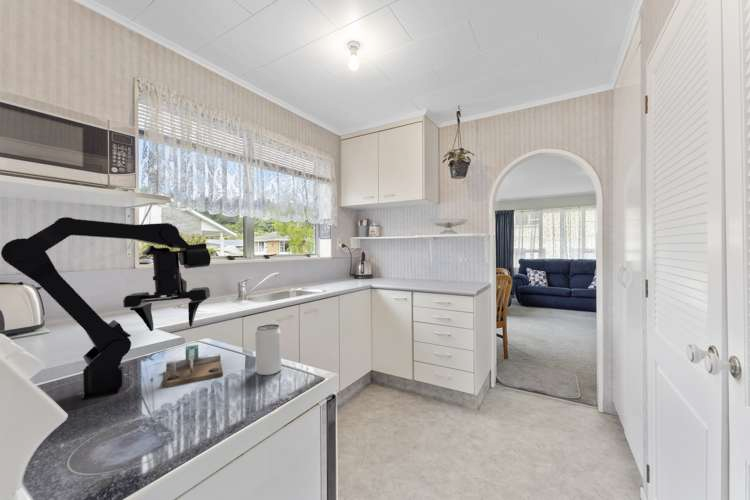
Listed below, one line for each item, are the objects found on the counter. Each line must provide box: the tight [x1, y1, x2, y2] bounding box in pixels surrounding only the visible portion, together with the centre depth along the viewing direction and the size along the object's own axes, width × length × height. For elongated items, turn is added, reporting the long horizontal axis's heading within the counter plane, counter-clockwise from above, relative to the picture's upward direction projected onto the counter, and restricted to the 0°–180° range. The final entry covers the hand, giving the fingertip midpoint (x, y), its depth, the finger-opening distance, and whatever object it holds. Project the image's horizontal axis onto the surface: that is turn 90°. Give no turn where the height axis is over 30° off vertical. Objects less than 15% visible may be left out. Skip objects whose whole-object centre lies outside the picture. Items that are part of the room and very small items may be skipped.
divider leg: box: [185, 344, 199, 373], centre depth 84 cm, size 3×10×4 cm, turn 29°
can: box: [255, 323, 282, 376], centre depth 84 cm, size 6×6×12 cm
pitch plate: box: [162, 353, 224, 389], centre depth 83 cm, size 13×12×4 cm
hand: (171, 328), depth 84 cm, fingers open, 9 cm apart
